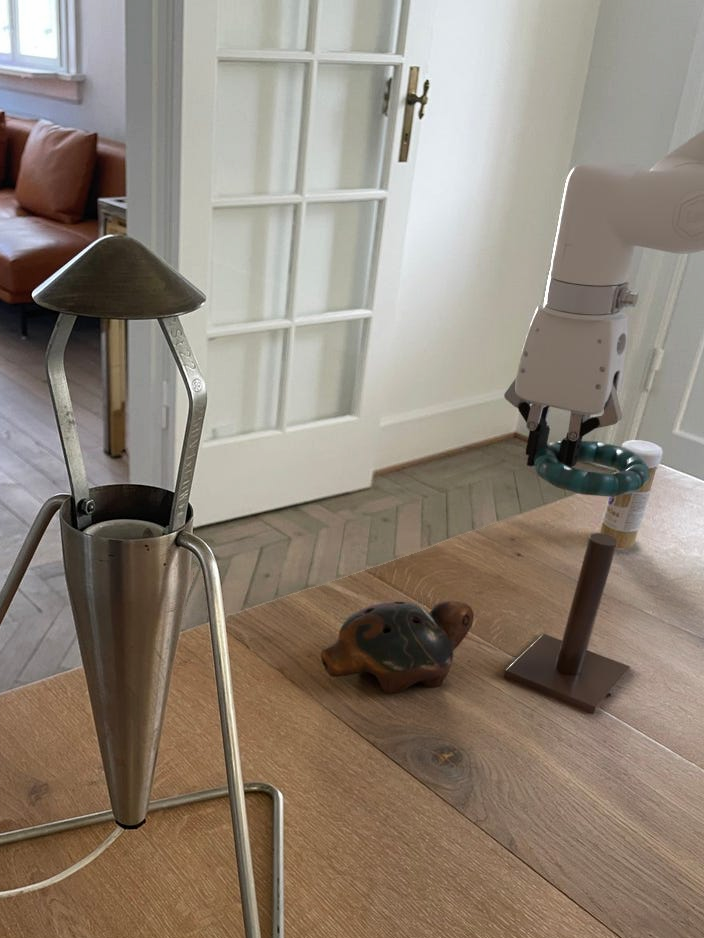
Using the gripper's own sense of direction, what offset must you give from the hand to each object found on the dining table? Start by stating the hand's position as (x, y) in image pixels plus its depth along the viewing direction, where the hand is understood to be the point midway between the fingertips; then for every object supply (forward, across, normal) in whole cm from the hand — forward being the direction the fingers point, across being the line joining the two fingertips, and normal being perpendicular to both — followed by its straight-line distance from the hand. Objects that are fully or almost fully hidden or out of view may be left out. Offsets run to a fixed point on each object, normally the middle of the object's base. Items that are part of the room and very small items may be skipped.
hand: (549, 465), depth 108 cm
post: (+13, -13, +20) cm, 27 cm away
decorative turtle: (+13, 0, +31) cm, 34 cm away
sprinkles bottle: (+13, -6, -12) cm, 19 cm away
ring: (-1, -5, 0) cm, 5 cm away
